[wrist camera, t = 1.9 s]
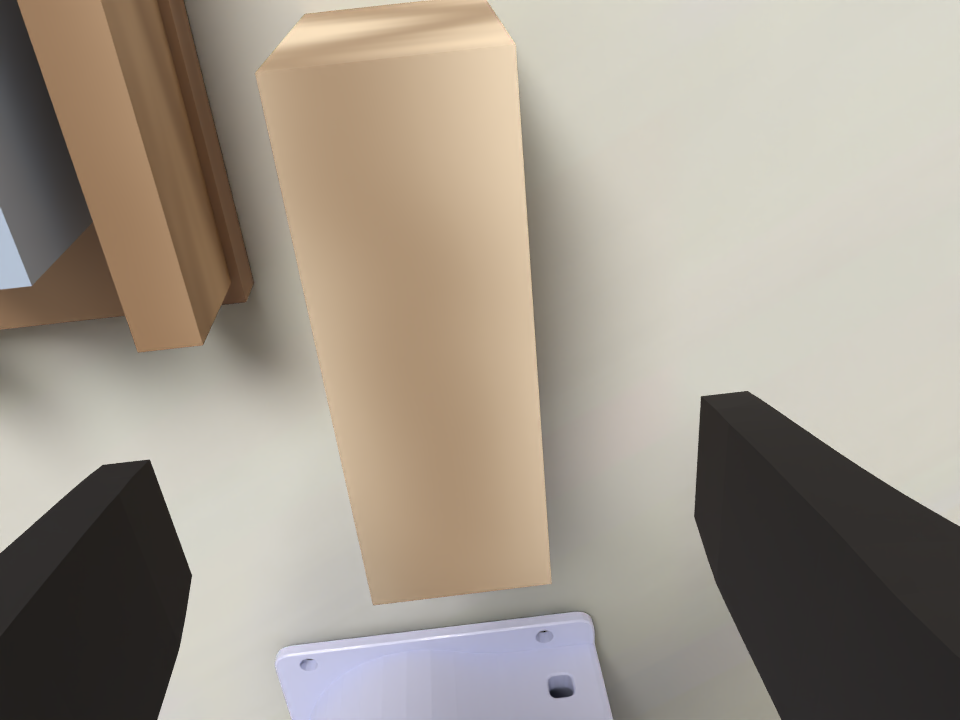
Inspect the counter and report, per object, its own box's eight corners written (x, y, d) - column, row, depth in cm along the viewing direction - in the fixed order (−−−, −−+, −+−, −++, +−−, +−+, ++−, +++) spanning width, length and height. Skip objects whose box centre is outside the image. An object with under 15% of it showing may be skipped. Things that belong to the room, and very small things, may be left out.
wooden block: (482, -6, 16) (515, 44, 11) (517, 413, 21) (551, 583, 16) (305, 13, 16) (255, 72, 11) (382, 429, 21) (373, 605, 16)
